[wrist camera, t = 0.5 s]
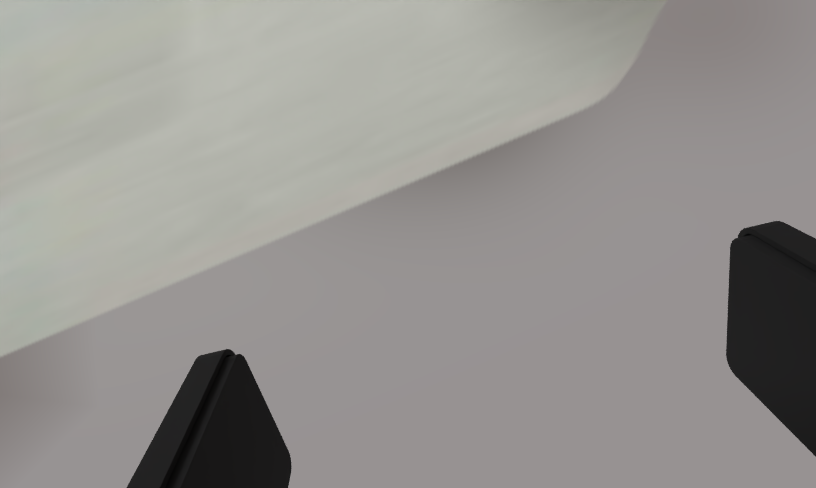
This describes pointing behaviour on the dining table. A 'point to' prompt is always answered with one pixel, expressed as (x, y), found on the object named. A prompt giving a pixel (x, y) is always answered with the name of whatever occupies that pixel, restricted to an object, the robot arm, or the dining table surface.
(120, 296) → the dining table surface
